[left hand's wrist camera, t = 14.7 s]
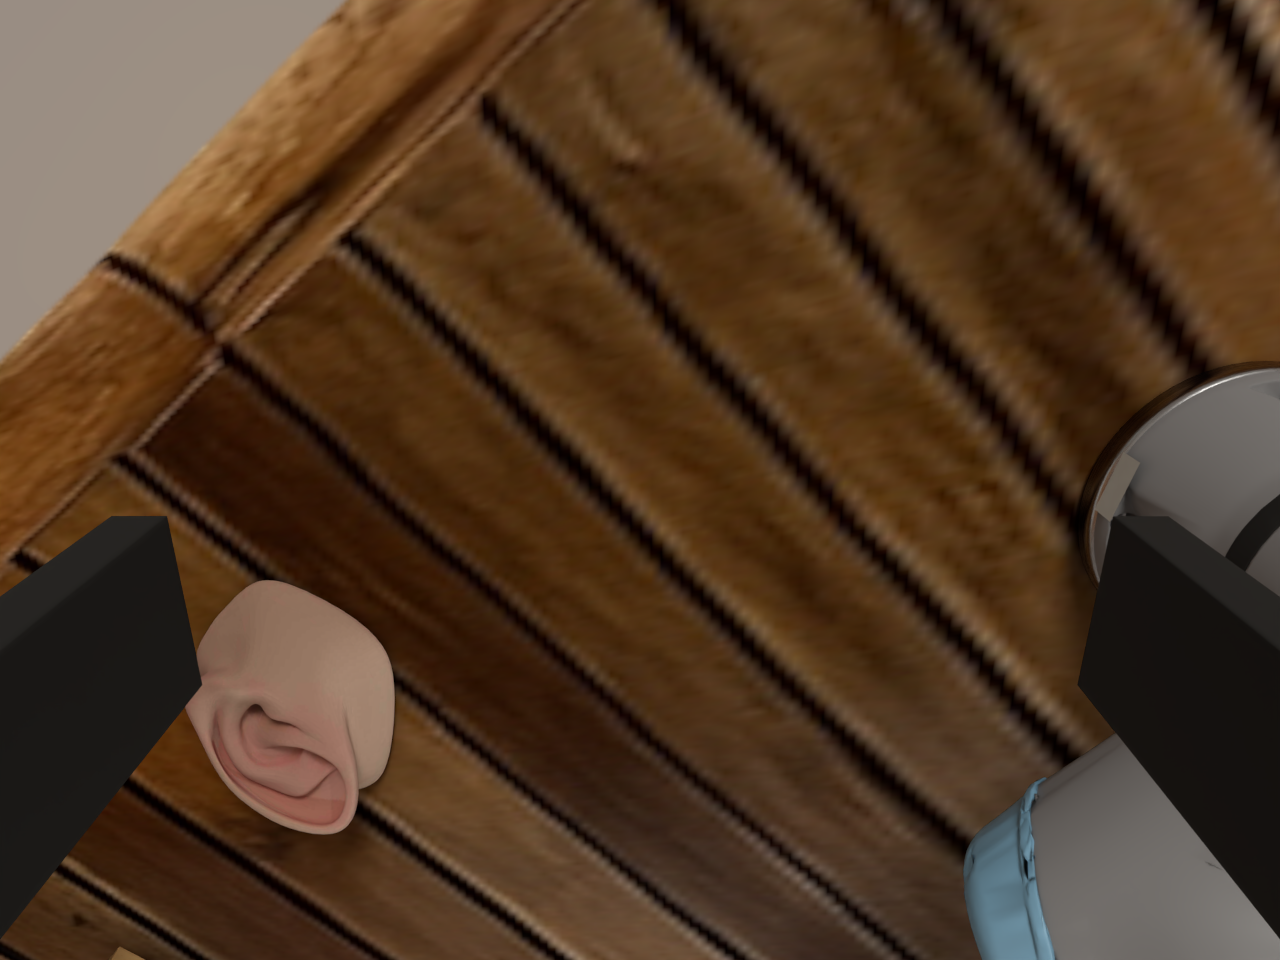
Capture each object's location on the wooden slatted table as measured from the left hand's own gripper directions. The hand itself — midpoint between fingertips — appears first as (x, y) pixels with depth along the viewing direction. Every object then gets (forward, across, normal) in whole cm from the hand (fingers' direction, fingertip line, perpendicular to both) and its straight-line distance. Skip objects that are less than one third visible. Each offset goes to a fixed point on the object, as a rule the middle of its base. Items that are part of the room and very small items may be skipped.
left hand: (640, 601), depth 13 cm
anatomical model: (+31, -19, -23) cm, 43 cm away
